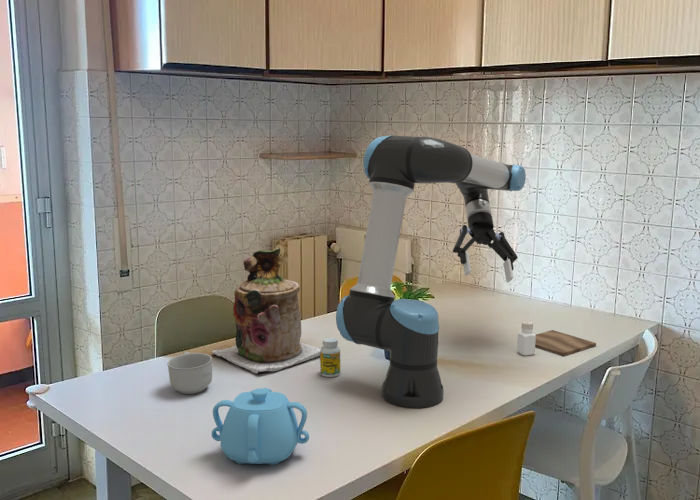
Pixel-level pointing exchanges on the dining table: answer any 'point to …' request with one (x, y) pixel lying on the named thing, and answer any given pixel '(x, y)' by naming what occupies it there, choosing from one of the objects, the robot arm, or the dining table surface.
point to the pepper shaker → (526, 339)
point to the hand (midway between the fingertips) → (489, 276)
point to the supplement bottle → (330, 358)
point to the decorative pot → (259, 427)
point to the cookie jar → (267, 319)
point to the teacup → (190, 372)
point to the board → (561, 343)
